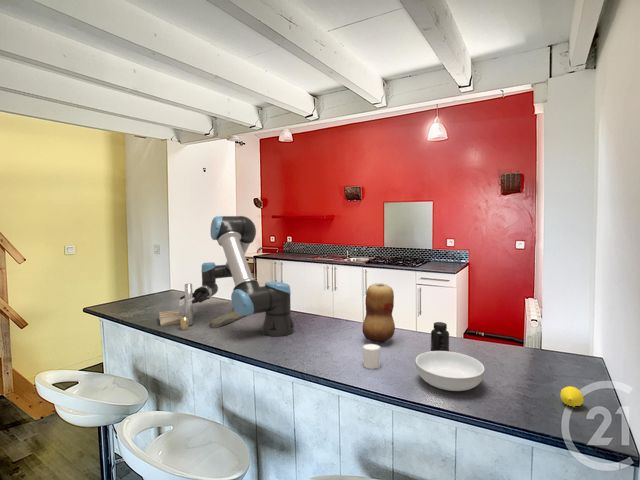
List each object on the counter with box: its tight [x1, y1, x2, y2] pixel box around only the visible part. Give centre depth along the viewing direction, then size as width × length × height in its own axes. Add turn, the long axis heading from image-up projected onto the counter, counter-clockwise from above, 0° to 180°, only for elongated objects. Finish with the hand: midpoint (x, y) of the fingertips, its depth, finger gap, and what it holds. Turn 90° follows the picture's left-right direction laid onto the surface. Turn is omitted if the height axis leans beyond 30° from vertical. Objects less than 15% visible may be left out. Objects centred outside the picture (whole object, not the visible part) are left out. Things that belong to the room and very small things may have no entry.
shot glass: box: [361, 343, 382, 370], centre depth 131 cm, size 7×7×7 cm
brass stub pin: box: [180, 315, 190, 332], centre depth 175 cm, size 4×4×6 cm
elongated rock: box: [208, 307, 247, 329], centre depth 194 cm, size 35×5×10 cm
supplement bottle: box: [430, 321, 450, 352], centre depth 141 cm, size 7×7×12 cm
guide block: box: [158, 309, 183, 327], centre depth 190 cm, size 14×10×4 cm
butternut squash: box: [362, 282, 396, 344], centre depth 155 cm, size 14×13×25 cm
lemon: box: [559, 385, 585, 408], centre depth 102 cm, size 7×5×5 cm
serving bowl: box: [414, 350, 486, 392], centre depth 117 cm, size 21×21×7 cm
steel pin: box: [184, 283, 194, 326], centre depth 181 cm, size 4×4×20 cm
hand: (184, 303), depth 176 cm, fingers closed on steel pin, 3 cm apart
